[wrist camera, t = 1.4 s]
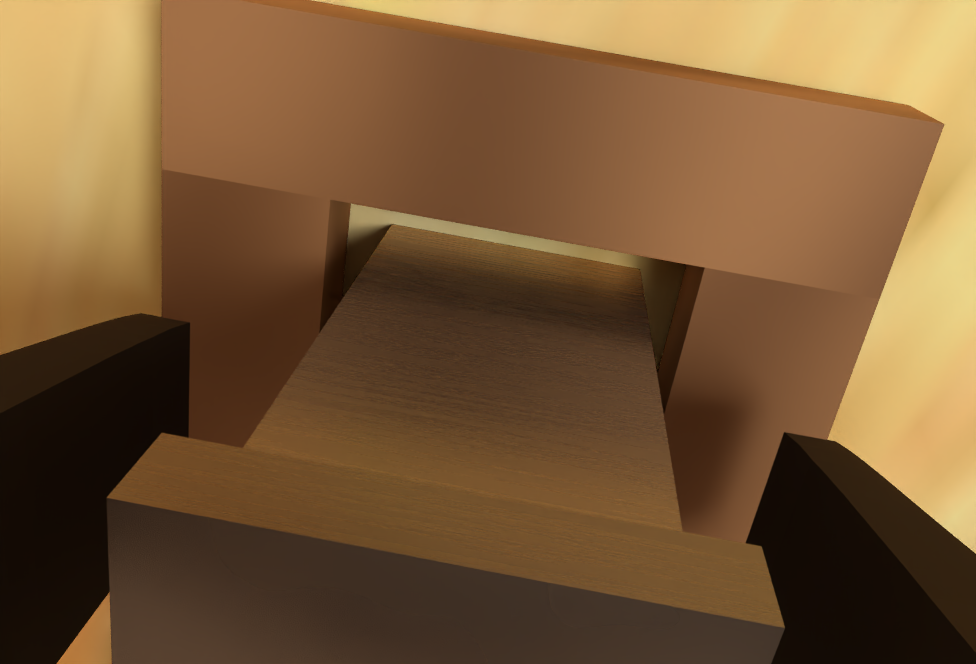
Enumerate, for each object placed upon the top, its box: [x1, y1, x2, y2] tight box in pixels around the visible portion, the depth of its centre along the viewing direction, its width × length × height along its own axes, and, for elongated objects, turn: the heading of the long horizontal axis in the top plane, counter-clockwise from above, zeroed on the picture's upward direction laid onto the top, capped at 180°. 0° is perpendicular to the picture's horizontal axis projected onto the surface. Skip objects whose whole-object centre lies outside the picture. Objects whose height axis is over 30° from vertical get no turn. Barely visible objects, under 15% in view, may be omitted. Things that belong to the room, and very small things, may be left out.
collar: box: [162, 0, 944, 543], centre depth 12 cm, size 9×9×1 cm
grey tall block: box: [107, 224, 785, 664], centre depth 10 cm, size 4×4×7 cm
